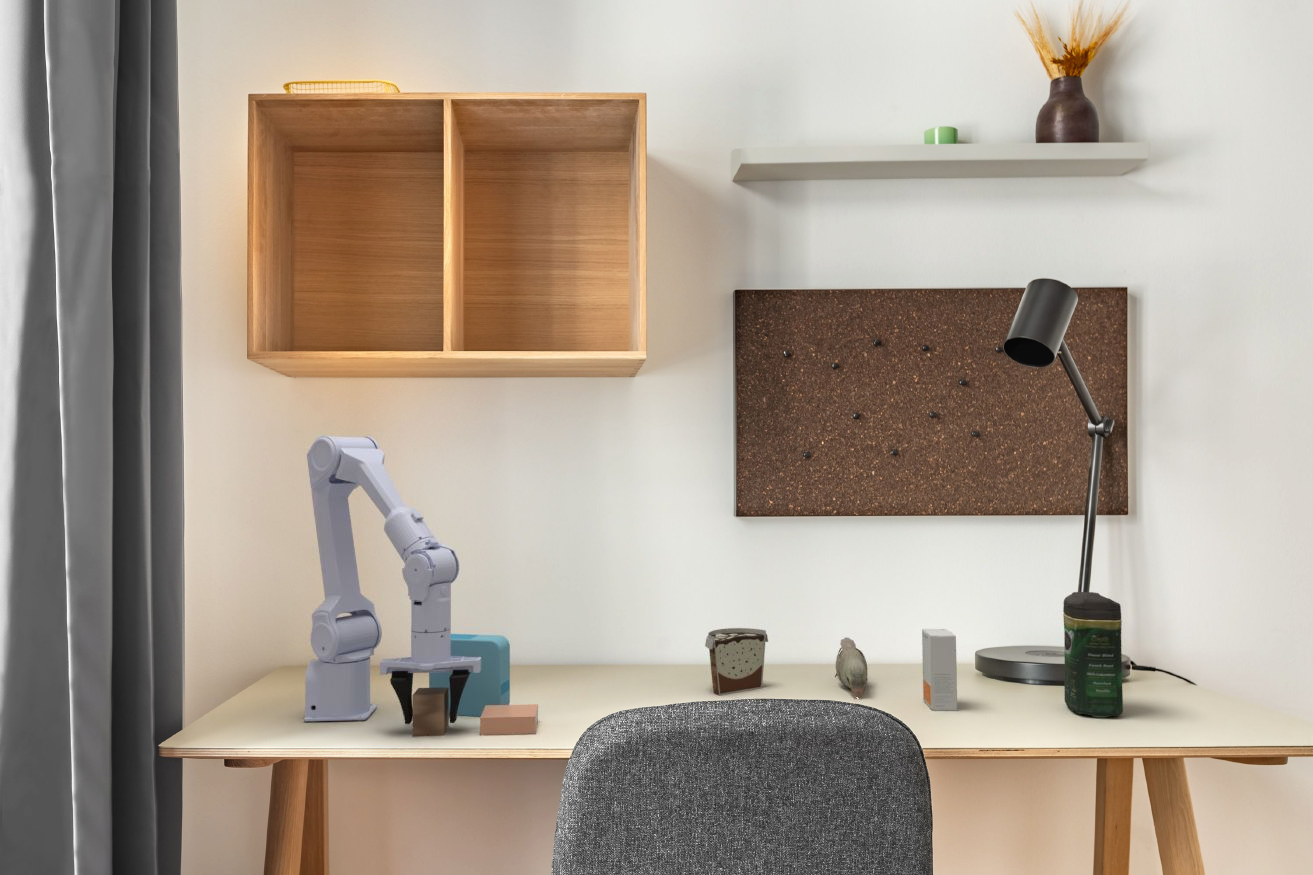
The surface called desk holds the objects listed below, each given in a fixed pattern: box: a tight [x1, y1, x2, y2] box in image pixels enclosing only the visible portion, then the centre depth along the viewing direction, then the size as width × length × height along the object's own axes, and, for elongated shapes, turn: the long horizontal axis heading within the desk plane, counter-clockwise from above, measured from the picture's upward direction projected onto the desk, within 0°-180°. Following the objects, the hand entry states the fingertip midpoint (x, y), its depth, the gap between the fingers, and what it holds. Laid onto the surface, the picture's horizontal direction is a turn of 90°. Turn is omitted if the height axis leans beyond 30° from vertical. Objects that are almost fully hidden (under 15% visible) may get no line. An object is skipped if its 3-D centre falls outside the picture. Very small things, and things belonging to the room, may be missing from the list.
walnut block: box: [412, 687, 450, 738], centre depth 137 cm, size 4×4×6 cm
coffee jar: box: [1062, 591, 1124, 718], centre depth 147 cm, size 10×8×19 cm
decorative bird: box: [834, 636, 868, 699], centre depth 163 cm, size 5×16×8 cm, turn 175°
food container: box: [704, 627, 769, 696], centre depth 163 cm, size 12×6×10 cm, turn 122°
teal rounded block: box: [428, 633, 511, 718], centre depth 148 cm, size 12×4×12 cm, turn 79°
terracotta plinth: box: [479, 703, 539, 736], centre depth 139 cm, size 8×7×2 cm
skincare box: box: [921, 628, 958, 712], centre depth 151 cm, size 6×4×12 cm
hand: (430, 721), depth 137 cm, fingers open, 6 cm apart
